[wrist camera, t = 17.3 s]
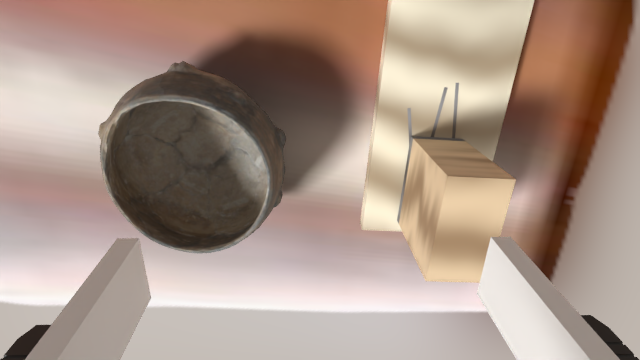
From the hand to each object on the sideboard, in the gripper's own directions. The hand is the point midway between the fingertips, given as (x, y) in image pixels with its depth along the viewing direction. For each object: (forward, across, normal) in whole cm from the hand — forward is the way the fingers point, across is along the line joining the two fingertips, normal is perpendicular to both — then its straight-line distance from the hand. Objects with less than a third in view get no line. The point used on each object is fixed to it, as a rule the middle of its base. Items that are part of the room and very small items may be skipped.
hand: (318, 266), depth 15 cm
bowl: (+24, -9, -4) cm, 26 cm away
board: (+24, +12, -1) cm, 27 cm away
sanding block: (+22, +12, -7) cm, 26 cm away
